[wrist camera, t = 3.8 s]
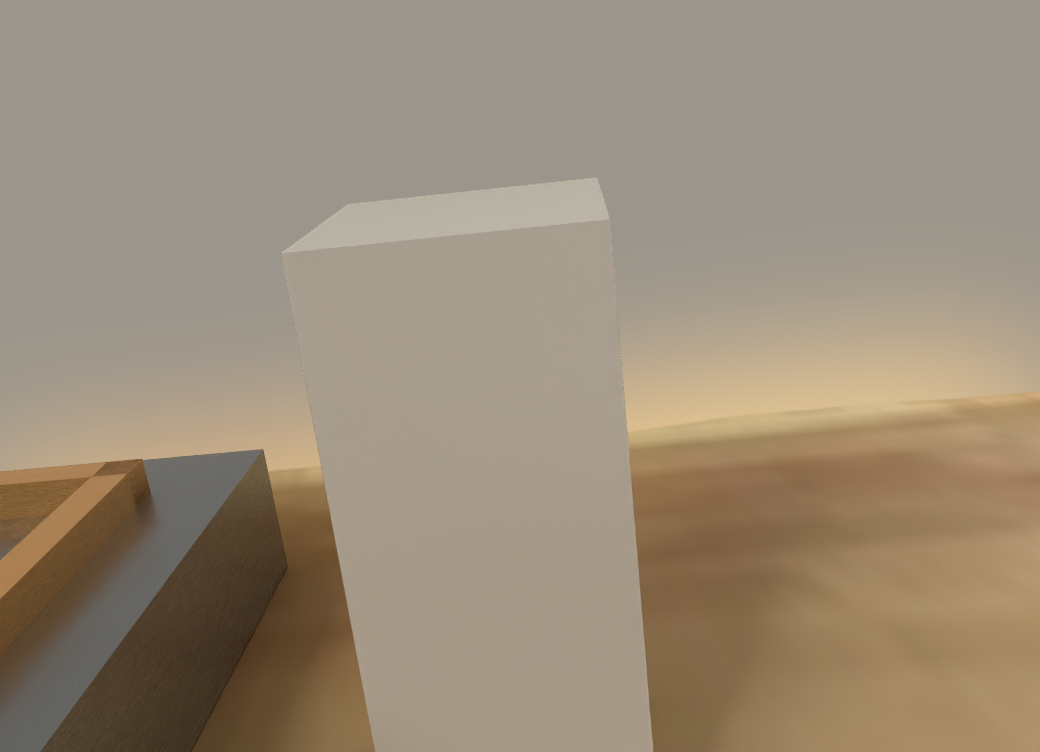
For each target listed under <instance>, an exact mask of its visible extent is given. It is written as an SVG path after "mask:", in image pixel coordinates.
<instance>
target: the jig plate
mask: <svg viewBox="0 0 1040 752" xmlns="http://www.w3.org/2000/svg"><path fill="white" fill-rule="evenodd" d="M287 567H288V566H287V561H286V556H285V552H284V547H283V542H282V537H281V532H280V528H279V523H278V518H277V513H276V508H275V504H274V499H273V494H272V489H271V484H270V479H269V475H268V470H267V465H266V460H265V455H264V451H263V449H261V450H251V451H239V452H228V453H217V454H206V455H194V456H183V457H173V458H161V459H150V460H142V459H136V460H125V461H115V462H103V463H92V464H80V465H69V466H58V467H47V468H36V469H26V470H25V469H24V470H15V471H2V472H0V752H191V750H192V748H193V746H194V744H195V742H196V740H197V738H198V736H199V734H200V733H201V731H202V729H203V727H204V725H205V723H206V721H207V719H208V717H209V715H210V713H211V712H212V710H213V708H214V706H215V704H216V702H217V700H218V698H219V696H220V694H221V692H222V691H223V689H224V687H225V685H226V683H227V681H228V679H229V677H230V675H231V673H232V671H233V670H234V668H235V666H236V664H237V662H238V660H239V658H240V656H241V654H242V652H243V650H244V649H245V647H246V645H247V643H248V641H249V639H250V637H251V635H252V633H253V631H254V629H255V628H256V626H257V624H258V622H259V620H260V618H261V616H262V614H263V612H264V610H265V608H266V607H267V605H268V603H269V601H270V599H271V597H272V595H273V593H274V591H275V589H276V588H277V586H278V584H279V582H280V580H281V578H282V576H283V574H284V572H285V570H286V568H287Z"/></svg>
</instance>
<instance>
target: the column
mask: <svg viewBox="0 0 1040 752" xmlns="http://www.w3.org/2000/svg"><path fill="white" fill-rule="evenodd" d="M281 255H282V261H283V266H284V271H285V277H286V282H287V287H288V292H289V297H290V303H291V308H292V313H293V319H294V324H295V329H296V335H297V340H298V346H299V351H300V356H301V362H302V366H303V372H304V377H305V382H306V388H307V393H308V398H309V404H310V409H311V415H312V420H313V425H314V431H315V436H316V441H317V446H318V451H319V457H320V462H321V468H322V473H323V478H324V484H325V489H326V494H327V500H328V505H329V510H330V516H331V521H332V526H333V531H334V537H335V542H336V547H337V553H338V558H339V563H340V569H341V574H342V579H343V585H344V590H345V595H346V600H347V606H348V611H349V616H350V622H351V627H352V632H353V638H354V643H355V648H356V653H357V659H358V664H359V669H360V675H361V680H362V685H363V691H364V696H365V701H366V707H367V712H368V717H369V722H370V728H371V733H372V738H373V744H374V749H375V752H653V741H652V729H651V716H650V704H649V692H648V680H647V667H646V655H645V643H644V631H643V619H642V606H641V594H640V582H639V570H638V557H637V545H636V533H635V521H634V509H633V496H632V484H631V472H630V460H629V447H628V435H627V425H626V424H627V423H626V411H625V399H624V387H623V376H622V375H623V374H622V362H621V350H620V339H619V325H618V313H617V301H616V289H615V276H614V265H613V252H612V240H611V228H610V218H609V215H608V211H607V208H606V205H605V201H604V198H603V195H602V192H601V188H600V185H599V182H598V178H588V179H579V180H569V181H560V182H551V183H541V184H532V185H522V186H513V187H504V188H496V189H495V188H494V189H485V190H476V191H467V192H457V193H447V194H438V195H429V196H419V197H411V198H402V199H391V200H382V201H373V202H363V203H354V204H348V205H346V206H345V207H344V208H342V209H341V210H339V211H338V212H337V213H335V214H334V215H333V216H331V217H330V218H329V219H327V220H326V221H324V222H323V223H322V224H320V225H319V226H318V227H316V228H315V229H314V230H312V231H311V232H309V233H308V234H307V235H305V236H304V237H303V238H301V239H300V240H298V241H297V242H296V243H294V244H293V245H292V246H290V247H289V248H288V249H286V250H285V251H283V252H282V253H281Z"/></svg>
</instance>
